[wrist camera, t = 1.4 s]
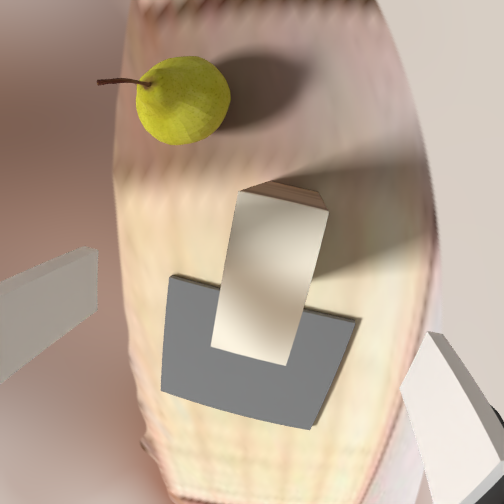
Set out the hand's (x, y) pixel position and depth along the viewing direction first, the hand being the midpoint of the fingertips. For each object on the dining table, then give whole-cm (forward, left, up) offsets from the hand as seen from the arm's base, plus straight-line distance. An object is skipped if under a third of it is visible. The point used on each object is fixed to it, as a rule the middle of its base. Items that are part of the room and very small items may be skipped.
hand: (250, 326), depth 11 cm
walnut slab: (0, 0, -16) cm, 16 cm away
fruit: (-9, -9, -16) cm, 20 cm away
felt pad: (+13, 0, -16) cm, 20 cm away
